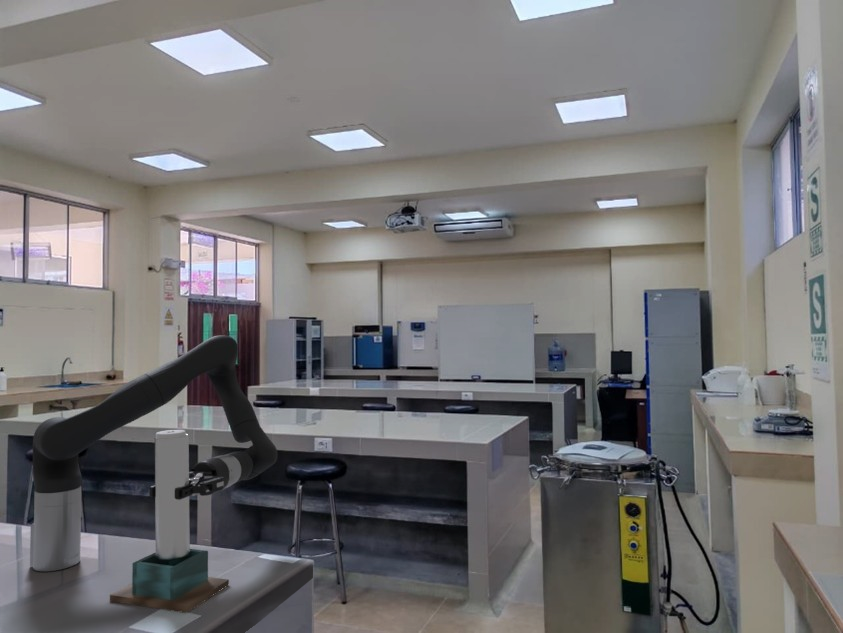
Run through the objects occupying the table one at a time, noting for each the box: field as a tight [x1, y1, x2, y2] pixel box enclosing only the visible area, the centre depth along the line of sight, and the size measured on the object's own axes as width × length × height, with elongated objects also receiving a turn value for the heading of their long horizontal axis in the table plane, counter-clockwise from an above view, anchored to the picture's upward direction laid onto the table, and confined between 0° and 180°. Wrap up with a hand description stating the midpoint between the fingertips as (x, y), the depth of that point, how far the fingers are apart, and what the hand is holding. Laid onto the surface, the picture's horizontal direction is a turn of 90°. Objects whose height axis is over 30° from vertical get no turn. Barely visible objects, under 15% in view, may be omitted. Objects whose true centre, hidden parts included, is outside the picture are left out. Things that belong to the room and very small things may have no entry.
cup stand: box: [109, 548, 230, 613], centre depth 120 cm, size 18×13×7 cm
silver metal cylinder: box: [154, 429, 191, 560], centre depth 121 cm, size 6×6×25 cm
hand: (164, 493), depth 119 cm, fingers closed on silver metal cylinder, 5 cm apart
